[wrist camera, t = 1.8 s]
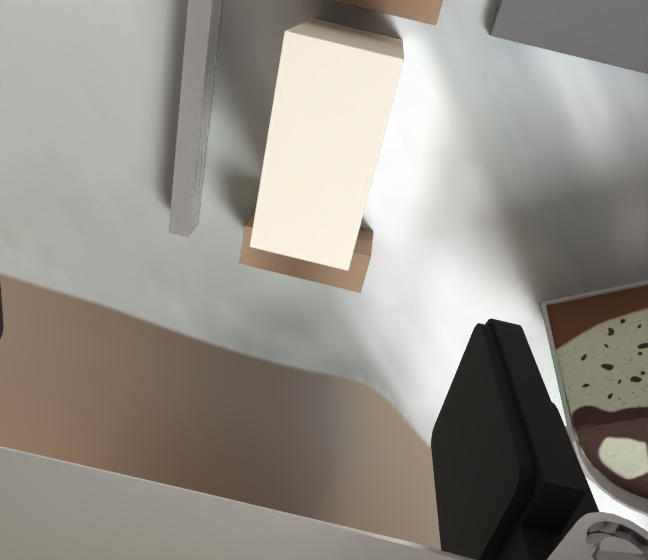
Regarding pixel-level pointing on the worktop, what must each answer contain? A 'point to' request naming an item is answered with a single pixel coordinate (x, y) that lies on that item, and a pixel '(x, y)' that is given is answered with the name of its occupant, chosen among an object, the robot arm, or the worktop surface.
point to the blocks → (192, 134)
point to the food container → (605, 385)
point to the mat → (579, 28)
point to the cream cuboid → (324, 140)
